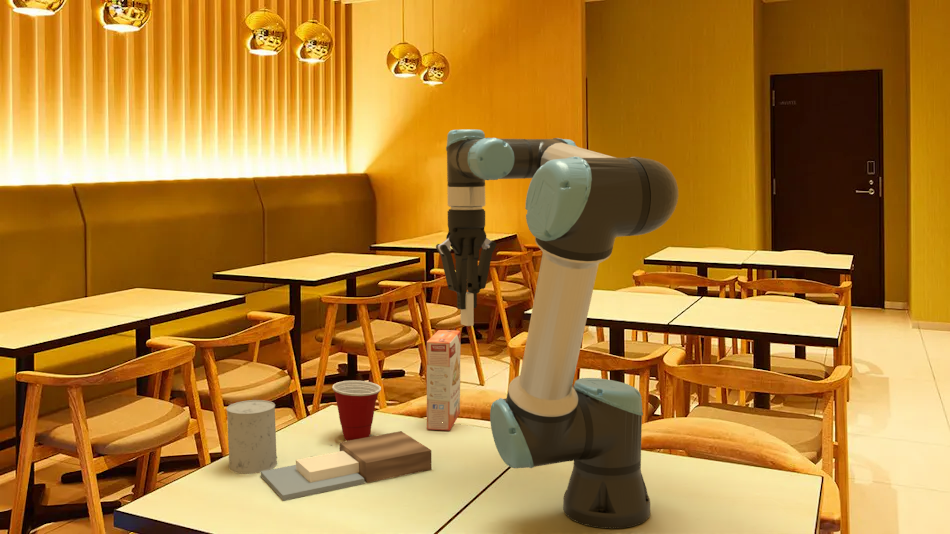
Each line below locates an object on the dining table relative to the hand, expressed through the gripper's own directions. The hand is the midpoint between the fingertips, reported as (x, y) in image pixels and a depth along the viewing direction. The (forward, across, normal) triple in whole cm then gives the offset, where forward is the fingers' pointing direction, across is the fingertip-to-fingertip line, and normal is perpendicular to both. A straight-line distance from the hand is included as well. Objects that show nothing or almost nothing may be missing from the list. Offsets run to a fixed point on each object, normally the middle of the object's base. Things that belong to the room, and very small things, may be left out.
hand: (467, 324), depth 173 cm
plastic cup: (+29, +14, -25) cm, 40 cm away
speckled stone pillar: (+29, +39, -20) cm, 52 cm away
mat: (+28, +32, -6) cm, 43 cm away
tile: (+27, +28, -6) cm, 40 cm away
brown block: (+28, +16, -6) cm, 33 cm away
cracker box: (+29, -8, -25) cm, 39 cm away
